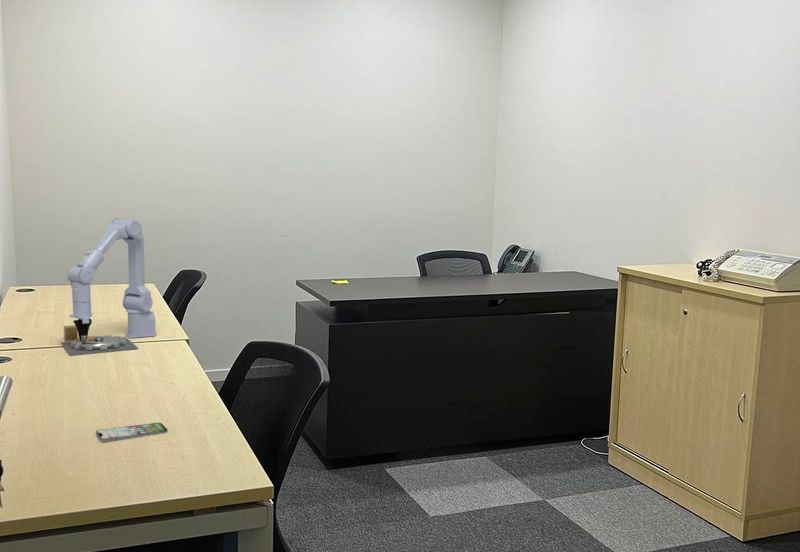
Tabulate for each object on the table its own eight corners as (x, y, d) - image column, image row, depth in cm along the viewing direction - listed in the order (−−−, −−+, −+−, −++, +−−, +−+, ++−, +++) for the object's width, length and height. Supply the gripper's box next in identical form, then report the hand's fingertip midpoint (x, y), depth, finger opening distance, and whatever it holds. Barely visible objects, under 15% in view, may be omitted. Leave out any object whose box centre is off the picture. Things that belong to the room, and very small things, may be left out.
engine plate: (125, 337, 281) (125, 336, 281) (138, 349, 263) (138, 348, 263) (60, 343, 270) (60, 342, 270) (69, 355, 252) (69, 354, 252)
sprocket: (102, 336, 279) (101, 325, 278) (137, 342, 270) (137, 330, 269) (59, 345, 263) (58, 333, 262) (95, 352, 254) (94, 339, 254)
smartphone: (168, 431, 180) (101, 439, 172) (168, 435, 180) (101, 444, 172) (160, 422, 186) (95, 430, 178) (160, 426, 186) (95, 434, 178)
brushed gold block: (76, 338, 278) (75, 325, 278) (77, 340, 275) (77, 327, 274) (64, 339, 276) (63, 326, 276) (65, 341, 273) (65, 328, 272)
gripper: (65, 299, 265) (67, 337, 267) (72, 305, 252) (74, 345, 254) (87, 297, 268) (89, 335, 270) (95, 304, 256) (96, 343, 258)
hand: (83, 340), depth 262 cm, fingers closed
